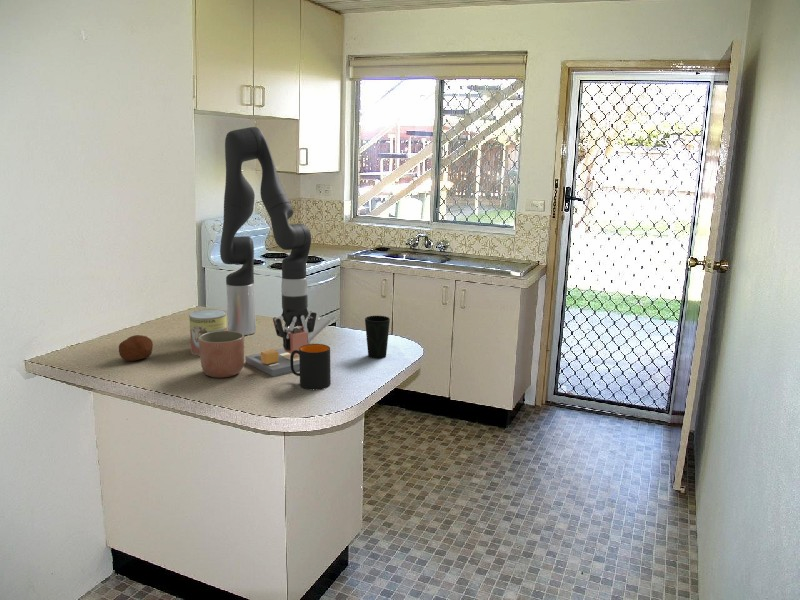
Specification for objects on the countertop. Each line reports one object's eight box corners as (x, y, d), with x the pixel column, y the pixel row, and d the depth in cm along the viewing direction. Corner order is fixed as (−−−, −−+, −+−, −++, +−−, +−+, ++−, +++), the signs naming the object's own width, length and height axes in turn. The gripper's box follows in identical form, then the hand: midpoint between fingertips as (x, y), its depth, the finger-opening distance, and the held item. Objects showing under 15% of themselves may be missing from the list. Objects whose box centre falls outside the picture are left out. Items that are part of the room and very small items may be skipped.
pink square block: (284, 350, 201) (283, 328, 200) (298, 347, 204) (298, 326, 203) (293, 354, 197) (292, 332, 196) (307, 351, 201) (307, 329, 199)
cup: (359, 355, 209) (359, 318, 206) (377, 350, 214) (377, 314, 212) (377, 361, 204) (377, 323, 201) (394, 356, 209) (395, 318, 206)
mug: (299, 375, 190) (298, 340, 188) (336, 382, 185) (335, 346, 183) (282, 384, 183) (281, 348, 180) (320, 391, 178) (319, 354, 176)
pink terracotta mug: (223, 363, 200) (221, 328, 197) (254, 371, 194) (253, 334, 191) (190, 375, 189) (188, 338, 187) (223, 383, 183) (221, 345, 181)
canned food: (183, 354, 208) (181, 316, 206) (203, 344, 219) (201, 308, 216) (216, 357, 205) (214, 319, 203) (234, 347, 216) (233, 311, 213)
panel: (245, 362, 201) (245, 355, 200) (292, 352, 211) (291, 346, 210) (272, 376, 189) (272, 369, 188) (320, 365, 199) (320, 358, 199)
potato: (112, 361, 200) (110, 337, 198) (141, 352, 209) (139, 329, 208) (131, 366, 196) (129, 341, 194) (160, 357, 205) (159, 333, 204)
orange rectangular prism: (261, 361, 194) (260, 351, 194) (273, 359, 197) (273, 349, 196) (266, 364, 192) (265, 354, 191) (278, 361, 195) (278, 351, 194)
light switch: (282, 339, 219) (312, 312, 227) (289, 353, 222) (318, 325, 230) (299, 345, 213) (329, 316, 221) (306, 358, 217) (335, 330, 224)
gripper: (279, 298, 190) (281, 355, 193) (322, 291, 199) (322, 347, 202) (266, 293, 195) (268, 349, 199) (308, 287, 204) (309, 341, 208)
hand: (295, 348), depth 201 cm, fingers closed on pink square block, 5 cm apart
